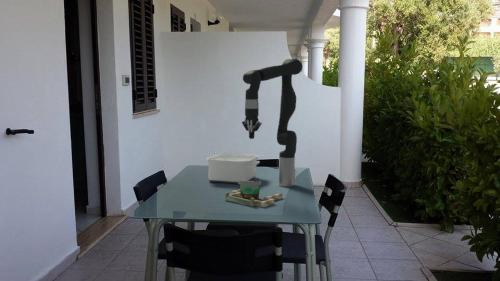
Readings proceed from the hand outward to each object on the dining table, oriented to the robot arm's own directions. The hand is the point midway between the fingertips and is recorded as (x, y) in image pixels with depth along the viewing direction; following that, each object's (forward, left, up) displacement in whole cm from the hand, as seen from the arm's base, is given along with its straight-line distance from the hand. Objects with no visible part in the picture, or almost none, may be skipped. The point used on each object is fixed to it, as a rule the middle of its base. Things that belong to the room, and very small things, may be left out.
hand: (251, 138), depth 255 cm
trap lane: (+12, +13, -30) cm, 35 cm away
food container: (+14, +12, -30) cm, 35 cm away
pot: (-16, -30, -31) cm, 46 cm away
